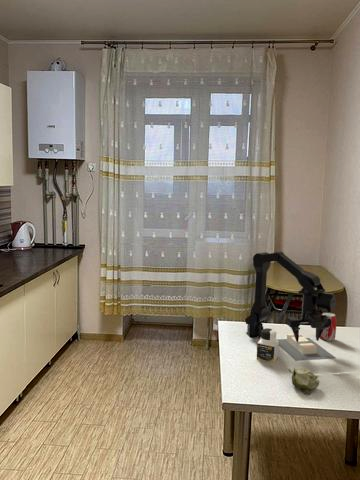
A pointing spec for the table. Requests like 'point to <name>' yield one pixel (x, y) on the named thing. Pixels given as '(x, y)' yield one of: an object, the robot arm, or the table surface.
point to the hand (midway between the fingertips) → (307, 340)
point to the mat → (299, 356)
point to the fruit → (304, 380)
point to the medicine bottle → (267, 345)
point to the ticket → (293, 341)
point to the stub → (307, 348)
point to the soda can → (329, 328)
